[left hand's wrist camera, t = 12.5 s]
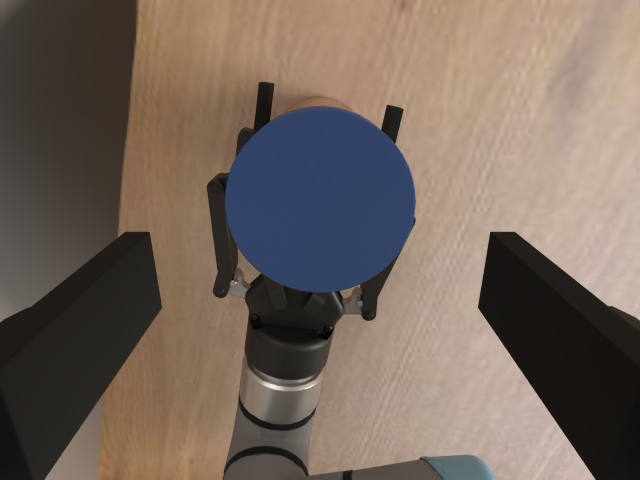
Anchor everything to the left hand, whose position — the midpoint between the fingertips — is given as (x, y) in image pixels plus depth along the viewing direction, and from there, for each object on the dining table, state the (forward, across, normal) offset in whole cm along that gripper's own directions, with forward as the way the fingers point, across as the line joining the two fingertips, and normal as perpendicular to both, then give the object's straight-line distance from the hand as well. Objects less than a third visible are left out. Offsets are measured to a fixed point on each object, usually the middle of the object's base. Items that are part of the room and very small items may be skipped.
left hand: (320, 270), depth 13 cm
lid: (+7, 0, 0) cm, 7 cm away
